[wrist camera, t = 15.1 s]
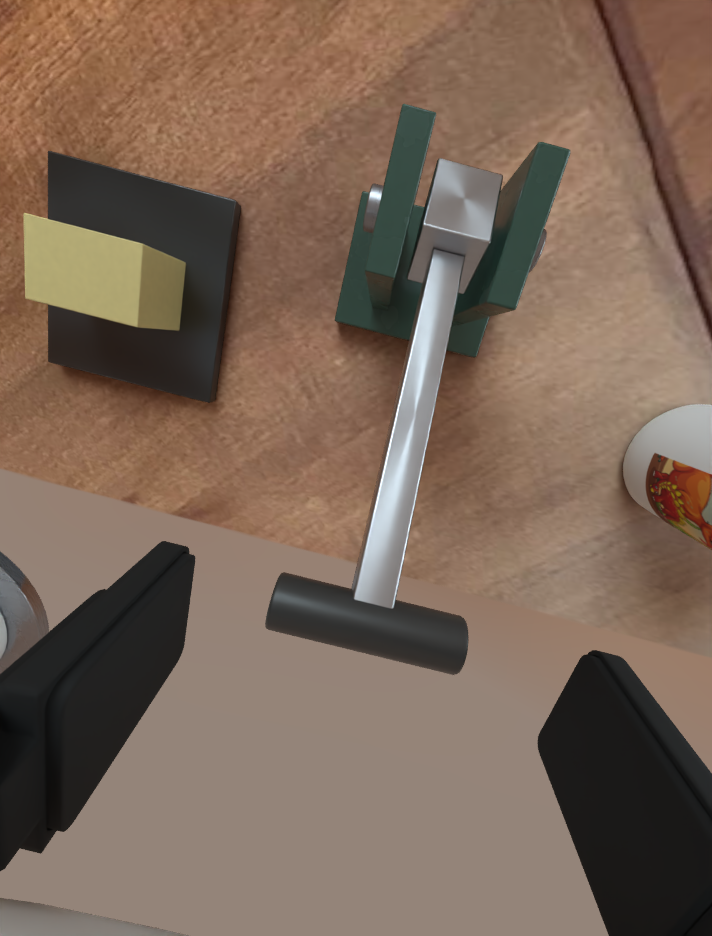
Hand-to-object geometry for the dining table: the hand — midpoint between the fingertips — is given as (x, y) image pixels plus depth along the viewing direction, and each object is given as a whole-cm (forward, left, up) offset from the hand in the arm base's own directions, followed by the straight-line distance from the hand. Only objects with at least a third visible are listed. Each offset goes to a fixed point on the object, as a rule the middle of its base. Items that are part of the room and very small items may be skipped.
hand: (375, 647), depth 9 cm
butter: (+6, +17, -18) cm, 26 cm away
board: (+6, +17, -19) cm, 26 cm away
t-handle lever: (+5, 0, -6) cm, 7 cm away
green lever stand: (+11, 0, -19) cm, 22 cm away
